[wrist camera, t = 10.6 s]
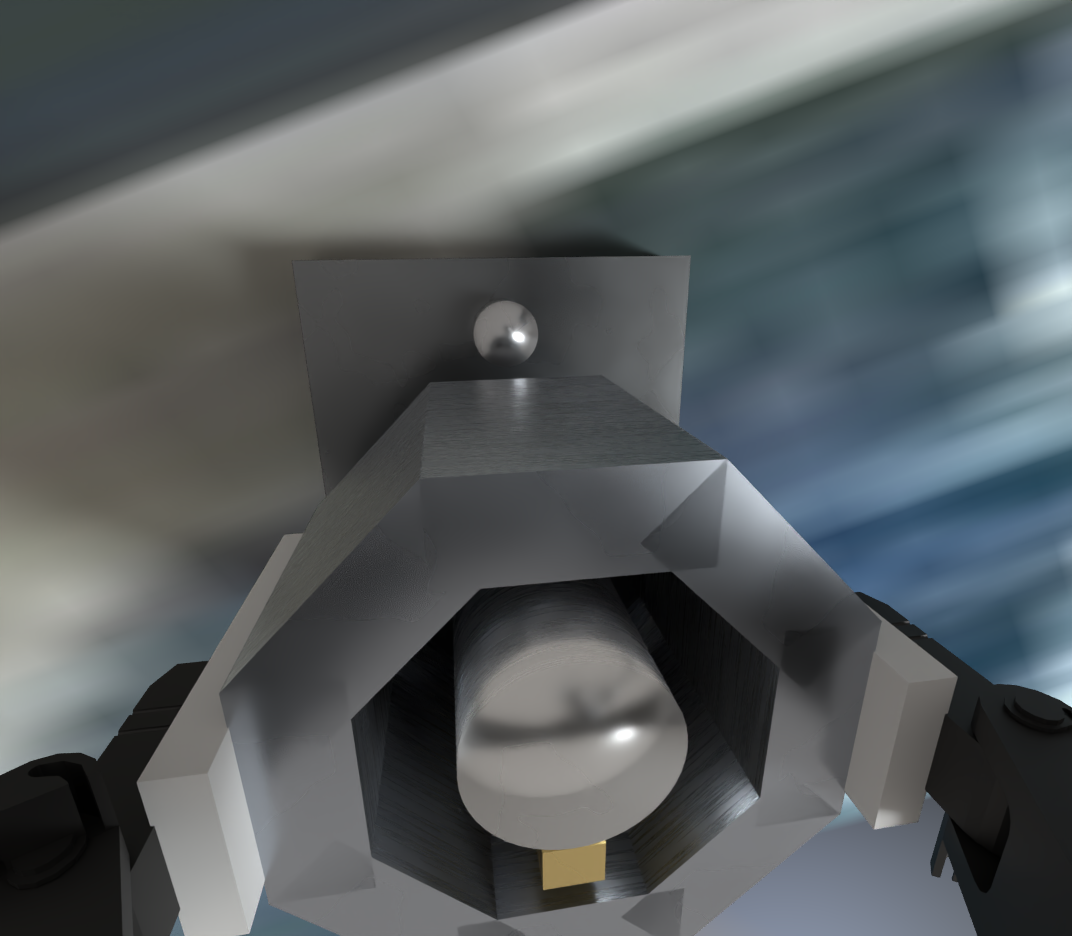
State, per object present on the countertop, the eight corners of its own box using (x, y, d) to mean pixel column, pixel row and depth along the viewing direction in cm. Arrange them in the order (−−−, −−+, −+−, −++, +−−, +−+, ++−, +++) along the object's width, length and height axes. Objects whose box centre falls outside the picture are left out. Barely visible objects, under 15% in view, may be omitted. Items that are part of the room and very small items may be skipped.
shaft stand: (310, 261, 16) (52, 246, 5) (663, 257, 17) (1001, 237, 7) (366, 685, 20) (288, 1116, 10) (641, 654, 22) (821, 1005, 11)
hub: (300, 387, 12) (170, 493, 6) (714, 370, 13) (919, 446, 7) (351, 734, 15) (296, 1019, 9) (686, 694, 16) (817, 922, 10)
